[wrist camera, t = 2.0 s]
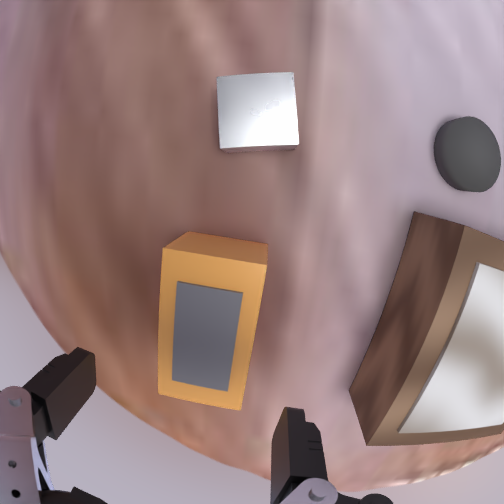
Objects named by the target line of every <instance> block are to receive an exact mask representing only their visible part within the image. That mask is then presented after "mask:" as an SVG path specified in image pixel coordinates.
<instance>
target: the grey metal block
mask: <svg viewBox="0 0 504 504" xmlns="http://www.w3.org/2000/svg"><path fill="white" fill-rule="evenodd" d="M217 98H218V119H219V139H220V149H222V150H223V151H225V152H226V153H237V152H252V151H271V150H295V148H296V147H297V146H298V145H299V139H298V124H297V110H296V98H295V86H294V75H293V72H280V73H257V74H243V75H231V76H221V77H217Z"/></svg>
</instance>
